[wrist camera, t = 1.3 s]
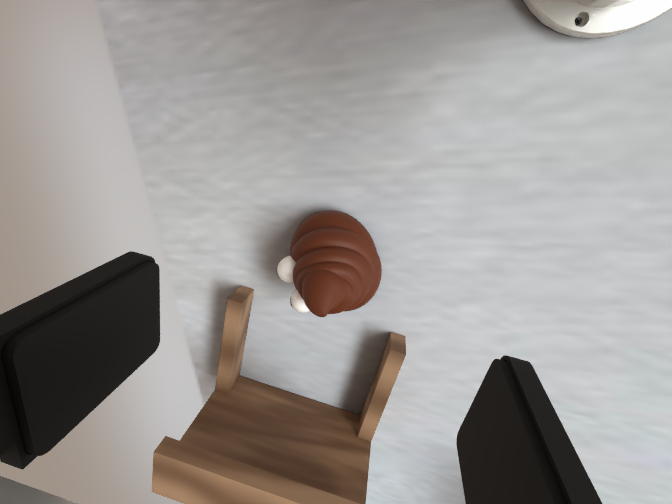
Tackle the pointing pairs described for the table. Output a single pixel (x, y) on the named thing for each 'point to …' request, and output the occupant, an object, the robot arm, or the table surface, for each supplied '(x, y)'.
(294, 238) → the poop emoji
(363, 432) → the cubby
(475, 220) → the table surface
